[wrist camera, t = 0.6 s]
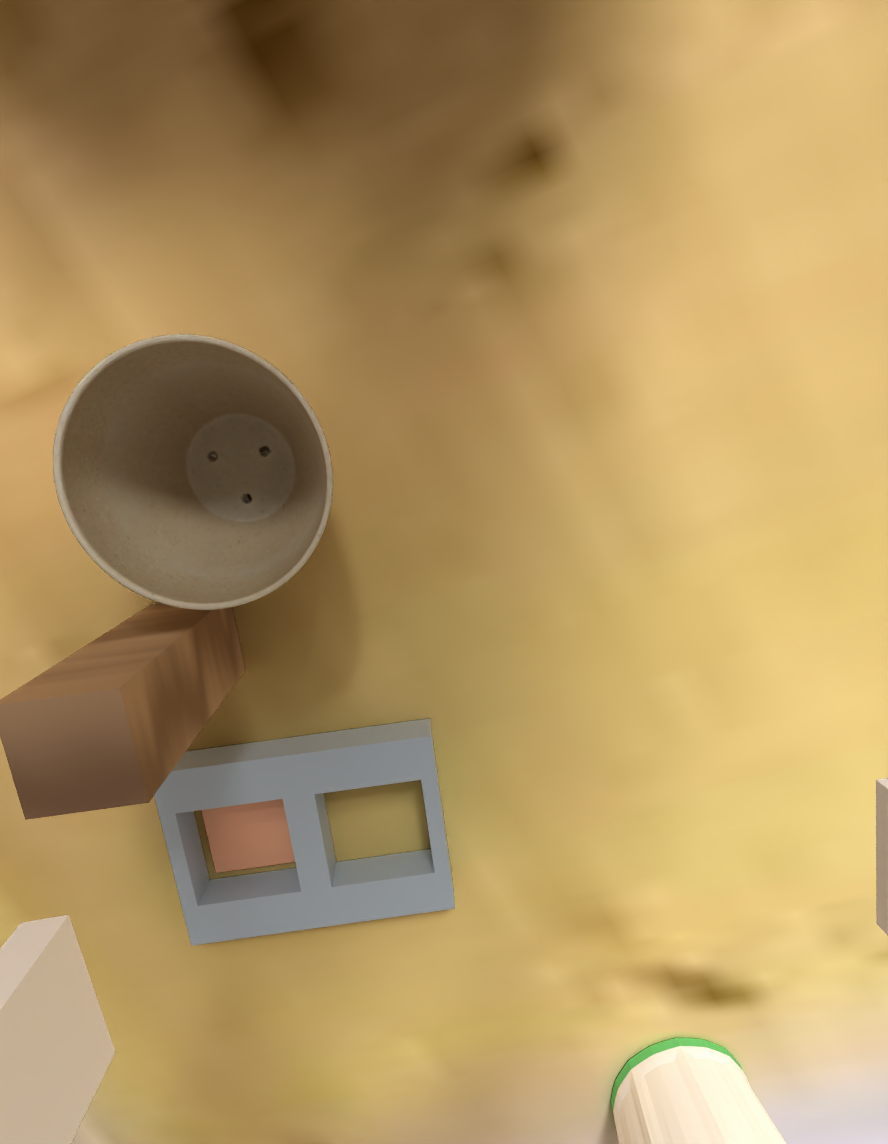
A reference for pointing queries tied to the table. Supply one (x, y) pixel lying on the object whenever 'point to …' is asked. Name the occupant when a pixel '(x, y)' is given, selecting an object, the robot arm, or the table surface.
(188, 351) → the flower pot
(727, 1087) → the cup
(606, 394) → the table surface
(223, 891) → the grey window frame
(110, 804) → the peg
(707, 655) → the table surface
